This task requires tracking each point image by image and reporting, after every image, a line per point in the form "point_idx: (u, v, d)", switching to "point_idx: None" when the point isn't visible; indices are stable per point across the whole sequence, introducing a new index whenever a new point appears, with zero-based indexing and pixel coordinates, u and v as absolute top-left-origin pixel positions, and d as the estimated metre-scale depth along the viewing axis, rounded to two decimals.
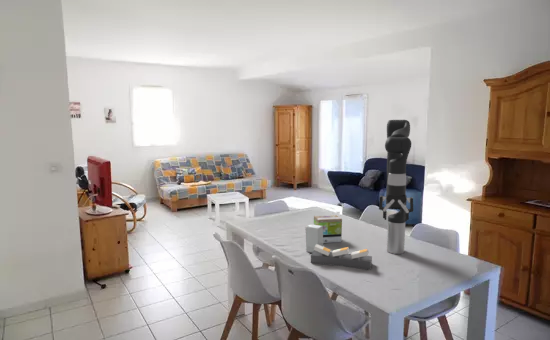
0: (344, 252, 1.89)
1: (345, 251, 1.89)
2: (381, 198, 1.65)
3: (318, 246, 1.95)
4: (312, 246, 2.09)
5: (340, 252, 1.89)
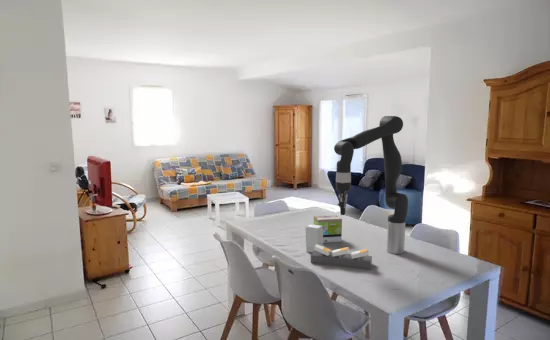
0: (344, 252, 1.89)
1: (345, 251, 1.89)
2: (343, 199, 1.87)
3: (318, 246, 1.95)
4: (312, 246, 2.09)
5: (340, 252, 1.89)
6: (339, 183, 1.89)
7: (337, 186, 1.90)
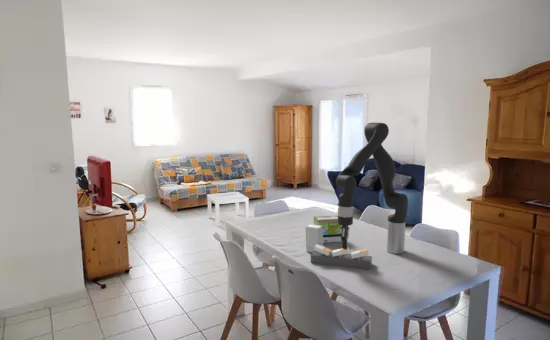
0: (344, 252, 1.89)
1: (345, 251, 1.89)
2: (345, 234, 1.84)
3: (318, 246, 1.95)
4: (312, 246, 2.09)
5: (340, 252, 1.89)
6: (341, 217, 1.86)
7: (339, 220, 1.87)
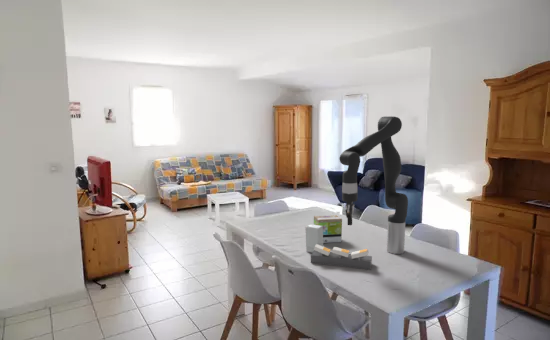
0: (344, 254, 1.89)
1: (345, 254, 1.89)
2: (350, 211, 1.85)
3: (318, 246, 1.95)
4: (312, 246, 2.09)
5: (340, 252, 1.89)
6: (346, 194, 1.86)
7: (344, 197, 1.88)
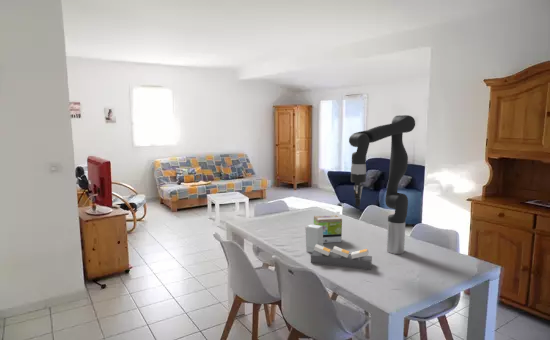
0: (344, 255, 1.89)
1: (345, 254, 1.89)
2: (359, 191, 1.88)
3: (318, 246, 1.95)
4: (312, 246, 2.09)
5: (340, 252, 1.89)
6: (354, 175, 1.90)
7: (352, 178, 1.91)
